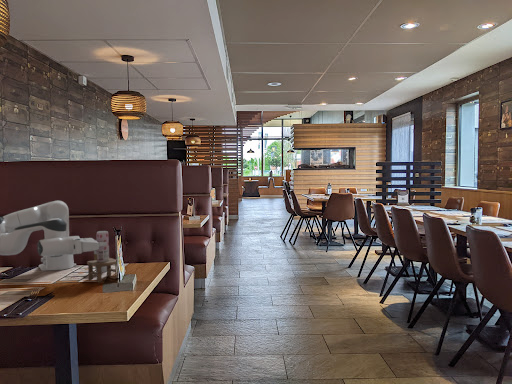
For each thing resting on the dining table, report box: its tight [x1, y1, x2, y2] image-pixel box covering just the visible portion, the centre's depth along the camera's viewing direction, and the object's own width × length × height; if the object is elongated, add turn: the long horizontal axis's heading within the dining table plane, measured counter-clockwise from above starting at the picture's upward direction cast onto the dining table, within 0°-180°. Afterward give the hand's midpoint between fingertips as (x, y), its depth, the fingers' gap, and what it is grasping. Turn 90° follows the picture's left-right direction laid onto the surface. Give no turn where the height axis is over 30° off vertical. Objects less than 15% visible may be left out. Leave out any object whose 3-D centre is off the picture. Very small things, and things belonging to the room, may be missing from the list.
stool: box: [86, 257, 117, 284], centre depth 201 cm, size 12×12×9 cm
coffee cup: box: [93, 250, 107, 273], centre depth 219 cm, size 8×8×15 cm
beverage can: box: [96, 230, 110, 262], centre depth 201 cm, size 6×6×15 cm
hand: (105, 242), depth 201 cm, fingers open, 6 cm apart
